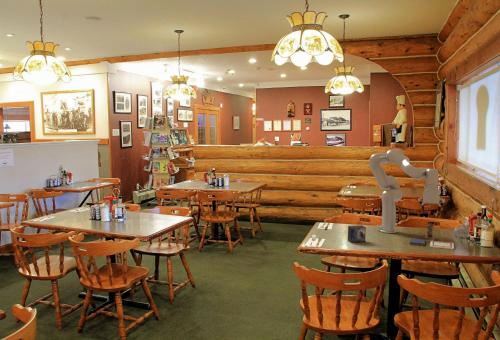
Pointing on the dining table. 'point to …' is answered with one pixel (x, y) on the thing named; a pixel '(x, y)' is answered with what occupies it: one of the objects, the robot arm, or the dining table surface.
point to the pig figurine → (462, 230)
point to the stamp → (429, 233)
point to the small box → (356, 234)
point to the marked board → (442, 245)
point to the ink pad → (417, 242)
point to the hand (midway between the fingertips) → (430, 211)
